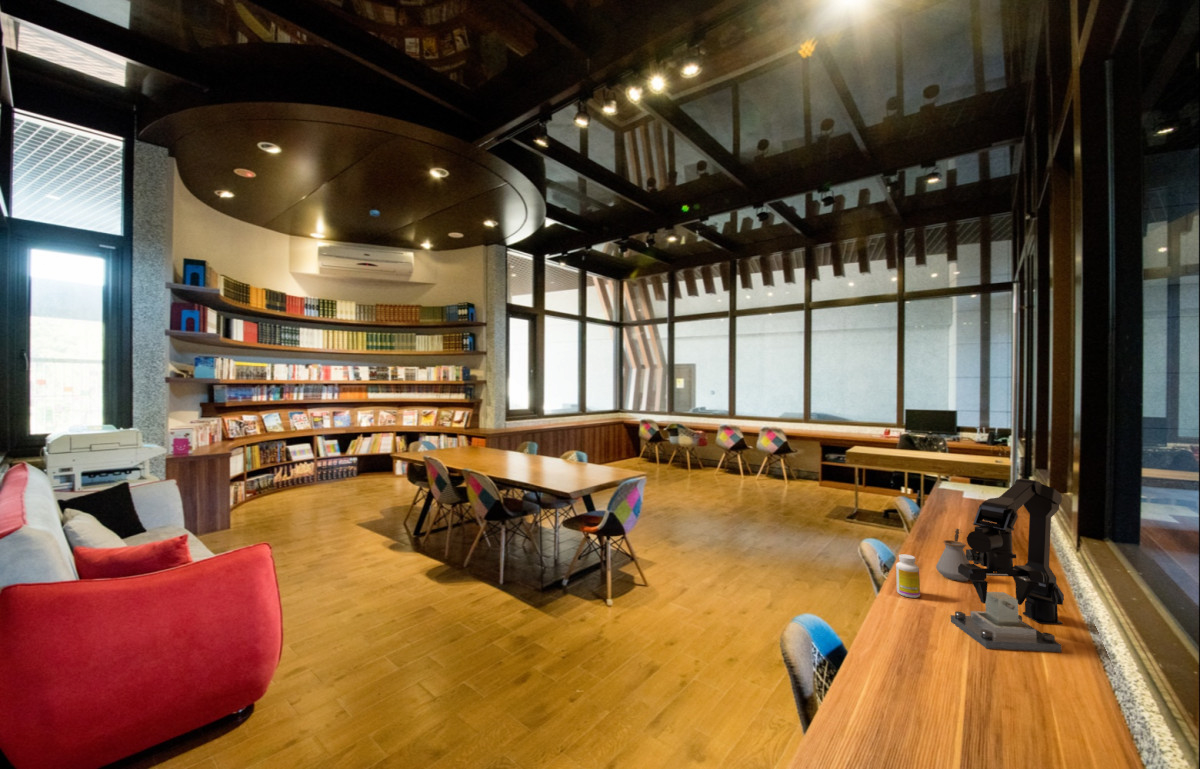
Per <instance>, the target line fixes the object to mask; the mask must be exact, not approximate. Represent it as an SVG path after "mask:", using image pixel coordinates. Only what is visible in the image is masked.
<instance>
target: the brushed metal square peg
mask: <svg viewBox="0 0 1200 769" xmlns="http://www.w3.org/2000/svg"><path fill="white" fill-rule="evenodd" d="M985 612H986V619H987V620H988V621H990V622H991V623H993V624H994V625H996V626H1007V627H1019V618H1018V615H1019V604H1018V600H1017V599H1016V597H1013V596H1011V595H1010V594H1008V593H1006V592H1003V591H1001V592H1000V591H987V597H986V602H985Z"/></svg>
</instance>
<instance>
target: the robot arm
mask: <svg viewBox="0 0 1200 769" xmlns="http://www.w3.org/2000/svg"><path fill="white" fill-rule="evenodd" d="M1014 482H1015V483H1014V484H1012V485H1011V487H1009V488H1008V489H1007V490H1006V491H1005V492H1004V493H1002V494H1001V495H1000V496H998V497H992V498H991V497H990V498H988V499H986V500H984V501H982V503H981V504H979V507H978V508H977V509H978V510H977V512H976V515H975V518H974V521H973V523H972V524H973V526H974V531H970V532H969V533H968V534H967V537H966V543H967V545H968V546H969V548H968V549H965V555H966V558H967V560H968V561H969V562H970V561H971V562H973V563H970V564H960V565H959V566H958V573H960V574H962V575H963V576H964V577H966V578H968V580H970V582H971V583H972V585H973V587H974V589H975V591H976V593H977V595H978V597H979V599H980V600H979V601H980V602H981V603H982V604H985V602H986V597H987V592H988V581H987V580H986V579H987V577H988V576H990V577H1012V579H1013V581H1014V584H1015V599H1017V600H1018V606H1022V605H1023V603H1024V611H1022V614H1023V615H1024V616H1026V617H1028V618H1029V619H1030V620H1033V621H1035V622H1036V623H1038V624H1045V625H1046V624H1047V625H1063V623H1064V622H1063V621H1060V620H1059V617H1058V614H1059V612H1058V606H1059V605H1061V606H1063V605H1064V600H1065V599H1064V596H1065V595H1064V593H1063V591H1062V590H1061V588H1060V587H1059V585H1058V584H1057V576H1056V575H1055V574H1054V572H1053V570H1052V569H1051V567H1050V553H1051V552H1050V551H1051V532H1052V531H1051V528H1052V527H1051V526H1052V518H1053V517H1054V515H1055V514H1056V513H1057V512H1058V511H1060V510H1059V509H1060V505H1062V504H1061V503H1062V501H1063V500H1062V498H1063V496H1062V494H1061V493H1060V492H1059V491H1058V490H1057V489H1056V488H1053V487H1051V486H1048V485H1046V484H1043V483H1041V482H1040V481H1037V479H1027V478H1018V479H1016V480H1015V481H1014ZM1022 506H1024V509H1025V510H1026V511H1027V513H1028V515H1029V517H1028V518H1029V522H1028V523H1029V524H1028V541H1027V542H1028V544H1027V545H1028V546H1027V562H1026V563H1025V564H1024V565H1020V564H1019V565H1017V564H1016V565H1014V559H1017V554H1015V553H1013V533H1012V532H1013V531H1014V530H1015V527H1014V526H1015V524H1016V523H1017V520H1018V518H1019V515H1018V510H1019V509H1020V508H1021V507H1022ZM978 565H980V566H982V567H980V566H978ZM984 567H985V568H984Z"/></svg>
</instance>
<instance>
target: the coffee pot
mask: <svg viewBox="0 0 1200 769" xmlns="http://www.w3.org/2000/svg"><path fill="white" fill-rule="evenodd" d="M954 532H955V534H954V540H949V539H947V540H943V543H944V546H945V547H944V550H943V551H942V554H941V555H940V557H939V560H938V561H937V563H936V564H935V568H936V570H937V572H938V573H939V575H943V576H944V578H945V577H946V578H945V579H947V578H948V580H950V579H952V580H951V581H954V580H957V581H956V582H968V581H969V579H968V578H966V577H964V576H963V575H962V574H960V573H958V566H959V565H960V564H971V562H970V561H968V560H967V558H966V552H965V550H964V549H965V547H966V546H967V544H965V543H963V542H961V541H959V537H960V533H962V530H961V529H959V528H956V529H954ZM943 576H942V577H943Z"/></svg>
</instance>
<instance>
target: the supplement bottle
mask: <svg viewBox="0 0 1200 769" xmlns="http://www.w3.org/2000/svg"><path fill="white" fill-rule="evenodd" d="M898 559H899V561H898V562H896V563H895V571H896V572H895V574H896V575H895V578H896V579H895V580H896V592H897V593H898V594H899V595H900V596H903V597H906V598H911V599H916V598H919V597H920V596H921V588H920V587H921V586H920V585H921V584H920V582H921V580H920V567H919V566H918V565H917V564H915V562H916V557H915V556H913V555H911V554H906V553H905V554H904V553H902V554H898Z"/></svg>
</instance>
